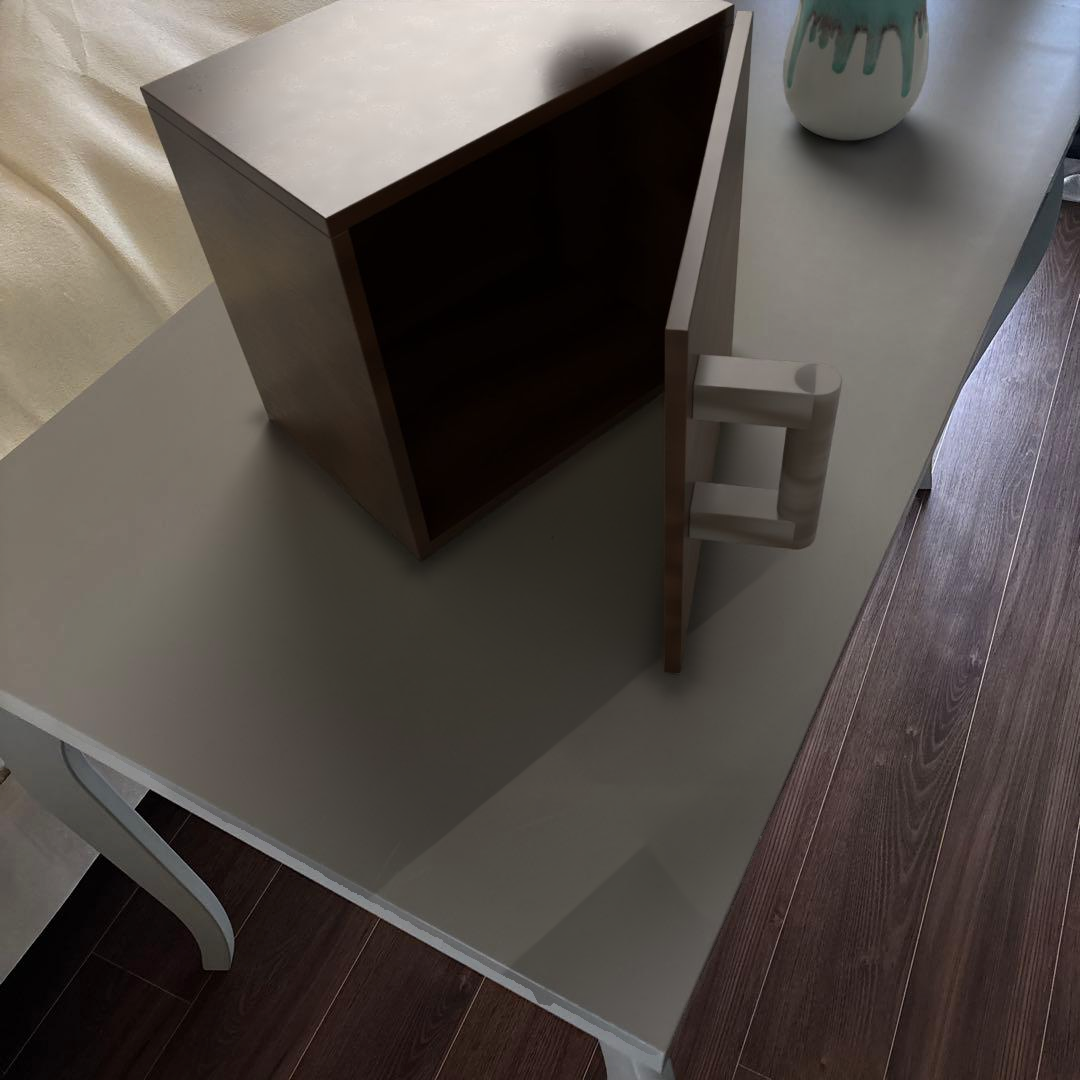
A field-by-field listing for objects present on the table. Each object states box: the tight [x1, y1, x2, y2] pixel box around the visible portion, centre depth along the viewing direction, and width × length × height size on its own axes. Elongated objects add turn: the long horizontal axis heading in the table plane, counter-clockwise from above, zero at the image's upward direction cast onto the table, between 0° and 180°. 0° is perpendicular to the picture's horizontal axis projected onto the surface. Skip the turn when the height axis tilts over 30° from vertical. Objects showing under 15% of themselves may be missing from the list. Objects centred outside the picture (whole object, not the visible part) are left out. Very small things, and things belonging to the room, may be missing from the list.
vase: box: [781, 0, 930, 142], centre depth 85 cm, size 12×12×18 cm
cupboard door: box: [663, 10, 843, 675], centre depth 56 cm, size 7×26×24 cm, turn 168°
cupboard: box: [139, 0, 736, 562], centre depth 65 cm, size 18×26×24 cm
